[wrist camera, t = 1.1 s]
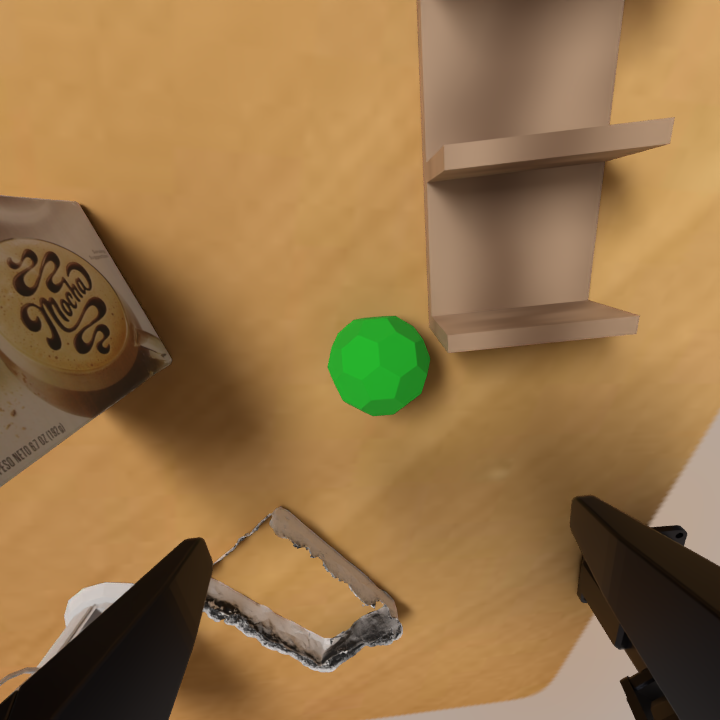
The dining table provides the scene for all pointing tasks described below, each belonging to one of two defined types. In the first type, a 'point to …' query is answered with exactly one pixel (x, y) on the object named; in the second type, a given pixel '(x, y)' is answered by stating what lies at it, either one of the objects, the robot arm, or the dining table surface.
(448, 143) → the rack
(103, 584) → the french press
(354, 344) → the polyhedron
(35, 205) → the coffee box
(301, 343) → the dining table surface
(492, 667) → the dining table surface
